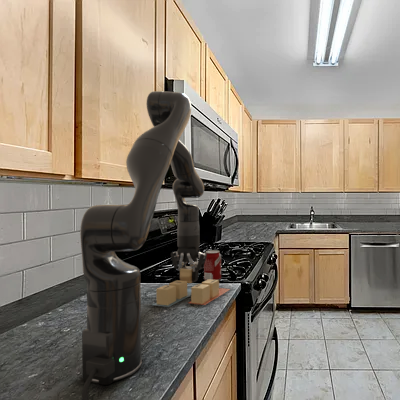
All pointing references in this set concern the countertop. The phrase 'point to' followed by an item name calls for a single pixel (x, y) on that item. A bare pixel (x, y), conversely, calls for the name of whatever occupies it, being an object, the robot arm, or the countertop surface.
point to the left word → (172, 293)
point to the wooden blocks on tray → (206, 292)
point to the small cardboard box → (186, 274)
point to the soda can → (212, 265)
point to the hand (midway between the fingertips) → (188, 280)
